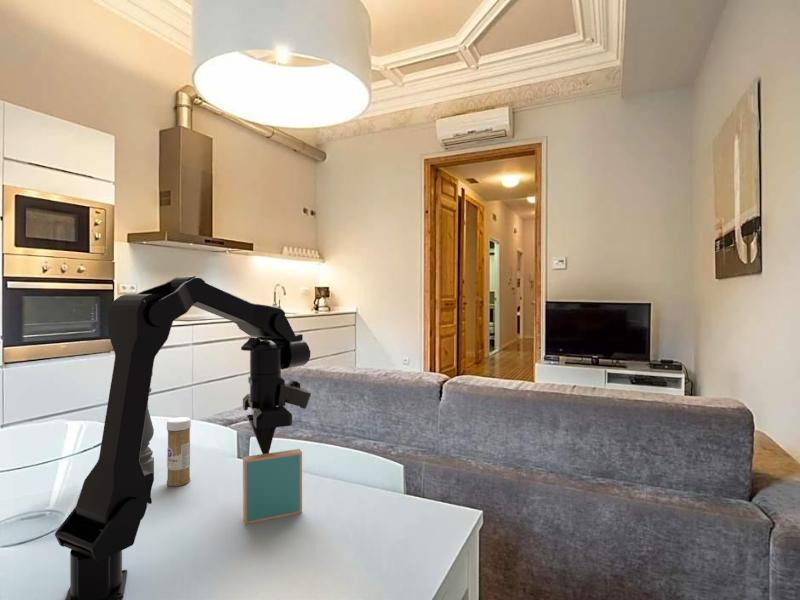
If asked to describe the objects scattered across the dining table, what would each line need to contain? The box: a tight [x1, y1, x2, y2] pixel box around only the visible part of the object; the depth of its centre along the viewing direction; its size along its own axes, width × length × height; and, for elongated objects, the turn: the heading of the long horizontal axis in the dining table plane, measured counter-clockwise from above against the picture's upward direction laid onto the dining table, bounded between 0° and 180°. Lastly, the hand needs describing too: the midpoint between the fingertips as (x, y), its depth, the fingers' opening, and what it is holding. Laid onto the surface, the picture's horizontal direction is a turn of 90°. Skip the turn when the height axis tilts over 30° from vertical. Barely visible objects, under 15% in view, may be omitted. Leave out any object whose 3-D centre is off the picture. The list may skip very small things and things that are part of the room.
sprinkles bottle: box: [166, 416, 192, 487], centre depth 98 cm, size 5×5×14 cm
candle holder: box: [140, 370, 155, 474], centre depth 101 cm, size 6×6×25 cm
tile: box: [242, 448, 303, 525], centre depth 83 cm, size 2×10×11 cm, turn 116°
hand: (265, 453), depth 89 cm, fingers closed
